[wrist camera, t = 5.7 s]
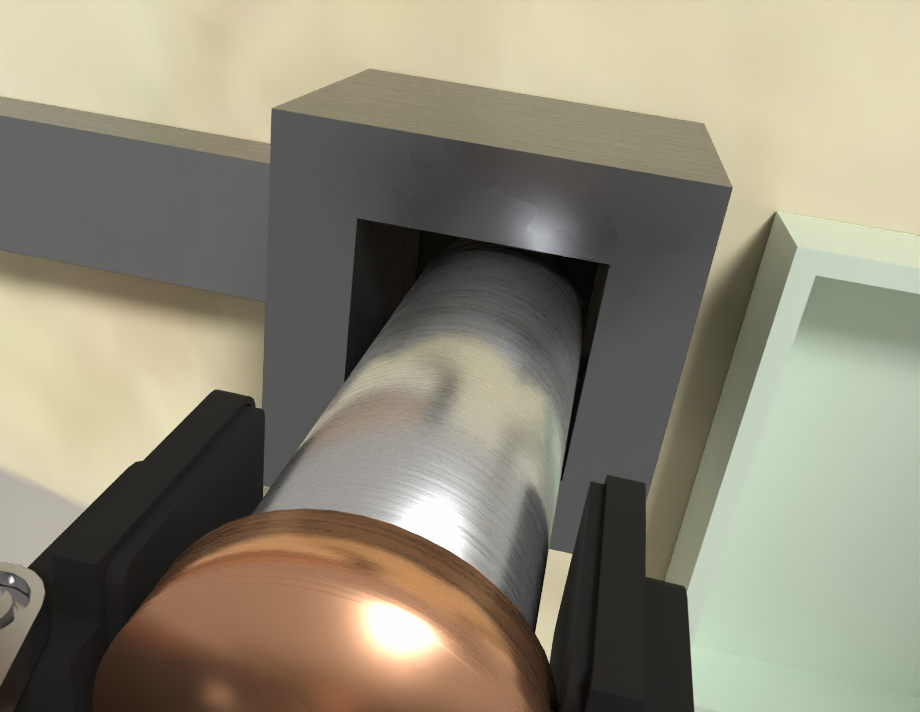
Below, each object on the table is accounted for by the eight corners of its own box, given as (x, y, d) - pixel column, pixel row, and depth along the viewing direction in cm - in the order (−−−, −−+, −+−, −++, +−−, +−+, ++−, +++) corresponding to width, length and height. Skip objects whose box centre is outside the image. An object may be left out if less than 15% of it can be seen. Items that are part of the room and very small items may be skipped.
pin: (624, 237, 18) (590, 660, 7) (581, 428, 20) (506, 975, 9) (406, 197, 19) (75, 533, 8) (387, 387, 21) (105, 857, 10)
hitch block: (704, 123, 22) (732, 187, 16) (628, 421, 26) (628, 566, 20) (-36, 2, 24) (-267, 15, 18) (-2, 293, 28) (-182, 386, 22)
